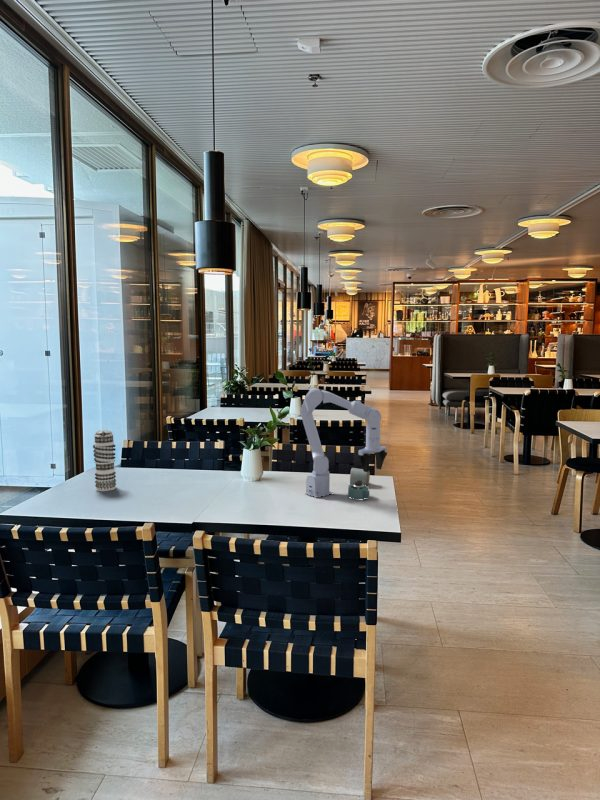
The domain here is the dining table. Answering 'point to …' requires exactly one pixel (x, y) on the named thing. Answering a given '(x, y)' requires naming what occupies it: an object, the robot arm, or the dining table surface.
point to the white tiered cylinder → (104, 461)
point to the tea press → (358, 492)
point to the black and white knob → (358, 484)
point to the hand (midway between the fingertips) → (372, 470)
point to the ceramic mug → (359, 476)
